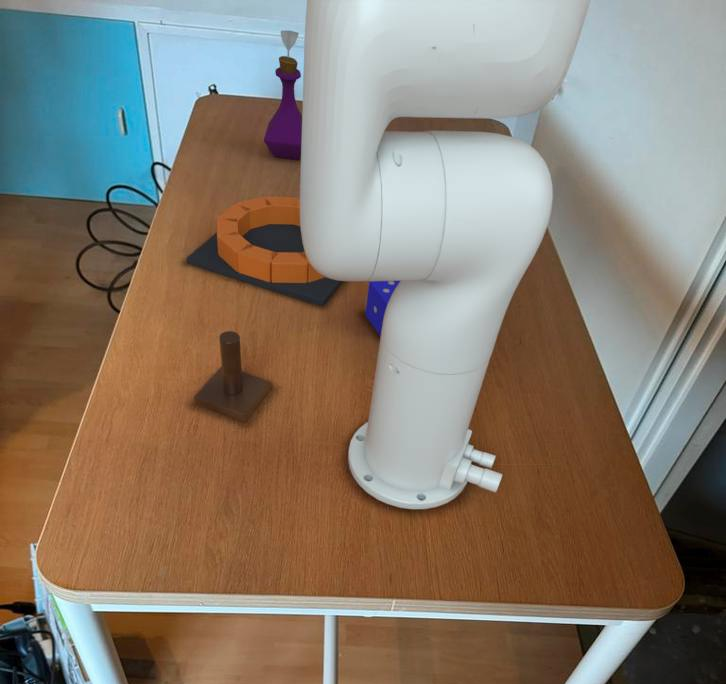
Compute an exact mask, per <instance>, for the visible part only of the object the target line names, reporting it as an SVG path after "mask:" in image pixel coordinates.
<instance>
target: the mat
mask: <svg viewBox="0 0 726 684" xmlns="http://www.w3.org/2000/svg"><path fill="white" fill-rule="evenodd" d="M242 237H243V238H244V239H245V240H247V241H248V242H249V243H250V244H251V245H253V246H257V247H260V248H263V249H266V250H270V251H273V252H288V253H302V252H305V250H304V246H303V242H302V235H301V228H300V226H297V225H289V224H268V225H265V226H261V227H257V228H253V229H250V230H249V231H248V232H247V233H246V234H244V235H243V236H242ZM185 260H186V264H188V265H190V266H195V267H198V268H201V269H204V270H207V271H210V272H213V273H216V274H219V275H222V276H226V277H229V278H231V279H236V280H238V281H241V282H244V283H247V284H250V285H254V286H256V287H259V288H262V289H266V290H269V291H272V292H276V293H279V294H282V295H285V296H288V297H292V298H294V299H298V300H300V301H304V302H306V303H310V304H313V305H316V306H320V307H324V306H325V304H326V303H327V302H328V301H329V300H330V299H331V298H332V296H333V295H334V294H335V292H336V291H337V290H338V288H339V287H340V286H341V285H342V284H343V282H344V281H338V280H333V279H329V278H327V277H325V278H322V279H319V280H316V281H313V282H310V283H309V282H307V283H272V281H271V282H266V281H263V280H260V279H257V278H254V277H251V276H247V275H244V274H241V273H238V272H237V271H235V270H234V269H233V268H232V267H231V266H230V265H229V264H228V263H227V262H226V261H224V260H223V259H222V258H221V257H220V256H219V254H218V243H217V232H216V233H214V234H213V235H212V236H210V238H208V239H207V240H206V241H205V242H203V243H202V244H201V245H200V246H199V247H197V248H196V249H195V250H194V251H193V252H192V253H190V254H189V255H188V256H187V257H186V259H185Z"/></svg>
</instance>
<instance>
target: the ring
mask: <svg viewBox="0 0 726 684" xmlns="http://www.w3.org/2000/svg"><path fill="white" fill-rule="evenodd" d="M268 224H289V225H297V226H300V197H296V196H271V195H269V196H268V195H267V196H259V197H255V198H252V199H247V200H243V201H239V202H236V203H234V204H232V205H231V206H229V207H228V208H227V209H226V210H224V211H223V212H222V213H221V214H220V215H218V216H217V218H216V233H217V243H218V254H219V256H220V257H221V258H222V259H223V260H224V261H226V262H227V263H228V264H229V265H230V266H231V267H232V268H233V269H234V270H235V271H237V272H238V273H241V274H244V275H247V276H251V277H254V278H257V279H260V280H263V281H266V282H271V281H272V283H307V282H309V283H310V282H313V281H316V280H319V279H322V278H325V276H323V275H321V274H320V273H318V272H317V271H316V270H315V269H314V268H313V267H312V265H311V264H310V262H309V260H308V258H307V256H306V253H305V252H302V253H288V252H273V251H270V250H266V249H263V248H260V247H257V246H253V245H251V244H250V243H249V242H248V241H247V240H245V239H244V238H243V237H242V236H243V235H244V234H246V233H247V232H248V231H249V230H250V229H253V228H257V227H261V226H265V225H268Z"/></svg>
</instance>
